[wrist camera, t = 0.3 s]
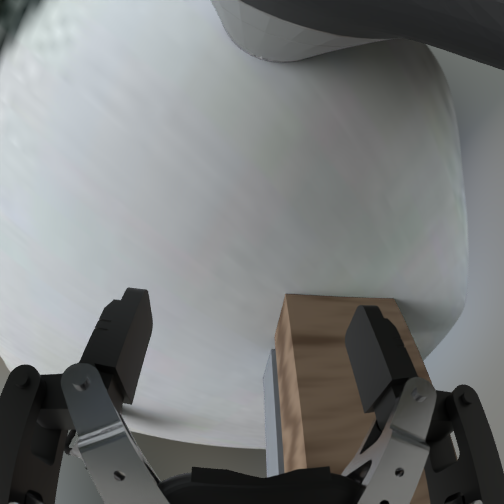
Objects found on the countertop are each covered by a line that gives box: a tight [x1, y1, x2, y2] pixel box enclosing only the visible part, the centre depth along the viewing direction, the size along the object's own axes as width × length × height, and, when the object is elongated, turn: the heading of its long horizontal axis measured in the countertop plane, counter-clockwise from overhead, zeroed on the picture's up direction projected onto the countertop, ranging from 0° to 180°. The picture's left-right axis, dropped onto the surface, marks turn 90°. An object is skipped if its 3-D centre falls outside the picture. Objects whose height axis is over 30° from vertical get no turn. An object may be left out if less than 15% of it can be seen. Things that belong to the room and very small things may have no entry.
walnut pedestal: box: [275, 294, 457, 504], centre depth 24 cm, size 8×15×32 cm, turn 84°
